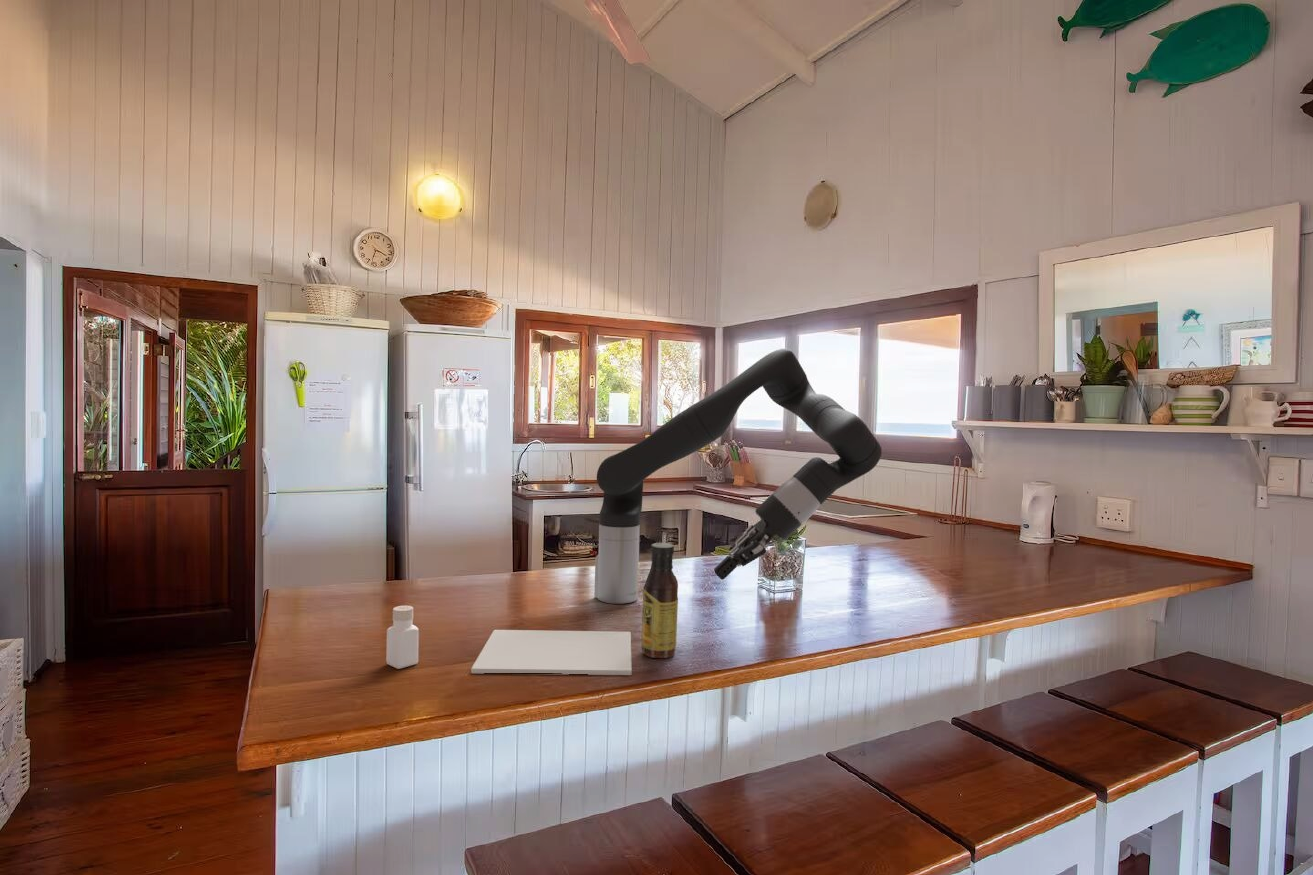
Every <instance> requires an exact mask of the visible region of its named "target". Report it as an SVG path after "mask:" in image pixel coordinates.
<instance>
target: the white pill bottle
mask: <svg viewBox="0 0 1313 875" xmlns="http://www.w3.org/2000/svg"><path fill="white" fill-rule="evenodd" d="M413 620H414V607H413V606H411V605H398V606H395V607H393V608H392V621H393V622H392V626H390V627H388V628H387V629H386V653H385V654H386V656H385V657H386V658H385V659H386V660H385V661H386V663H387V665H389V666H391V667H393V668H395V669H398V670H400V669H404V668H406V667H411V666H414V665H417V664H418V663H419V638H420V632H419V631H420V630H419V628H418V627H417V626H416V625H414V624H413Z"/></svg>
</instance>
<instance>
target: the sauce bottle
mask: <svg viewBox="0 0 1313 875" xmlns="http://www.w3.org/2000/svg"><path fill="white" fill-rule="evenodd" d="M650 546H651V548H650V553H651V564H650V570H649V572H648V574H647V577H646V580H645V582H644V585H643V587H642V588H643V589H642V590H643V592H642V593H643V594H642V618H641V620H642V621H641V650H642V653H643V655H644V656H646V657H648V658H651V659H652V658H653V659H668V658H672V657H674V655H675V653H676V646H677V637H678V636H677V635H678V634H677V631H678V609H679V608H678V606H679V597H678V596H679V595H678V592H679V590H678V589H679V582H678V579H677V576H676V575H675V573H674V572H673V568H674V565H673V557H674V554H675V546H674V544H672V543H669V542H654V543H651V545H650Z"/></svg>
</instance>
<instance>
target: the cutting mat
mask: <svg viewBox="0 0 1313 875" xmlns="http://www.w3.org/2000/svg"><path fill="white" fill-rule="evenodd" d="M631 641H632V633H631V631H615V630H614V631H613V630H612V631H608V630H607V631H605V630H603V631H602V630H600V631H597V630H596V631H595V630H539V629H538V630H537V629H536V630H535V629H525V630H524V629H519V630H518V629H494V630H493V631H492V632H491V634H490V636H489V638H488V639H487V641H486V643H485V645H484V647H483V648H482V649H481V651H480V653H479V655H478V657H477V658H476V660H475V661H474V663H473V665H472V666H471V669H470V671H471V672H470V674H484V673H562V674H561V675H569V674H588V675H589V676H591V675H592V676H632V672H633V671H632V667H633V666H632V642H631ZM588 675H587V676H588Z"/></svg>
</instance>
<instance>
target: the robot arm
mask: <svg viewBox="0 0 1313 875" xmlns="http://www.w3.org/2000/svg"><path fill="white" fill-rule="evenodd" d="M760 388H763V389H764V391H765V393H766V394H767V395H768V397H769V398H770V399H771V400H772V401H773V402H774V403H775V404H776V405H778V406H780V407H781V408H783V409H785V410H788V411H789V412H791V413H792V414H794V415H796V417H798V418H799V419H800V420H802V421H803V423H804V424H806V426H808V428H809V429H810V430H811V431H812V432H813V433H814V434H815V435H816V436H818V438H820V439H821V440H822V441H824V442H826V443H828V445H829V446H830V447H831V448H832V449H833V451H834V452H835V453H836V455H838V457H839V458H838V459H836V460H835V461H833V462H831V463H828V462H827V461H826V460H824V459H823V458H820V457H818V456H817V457H812V458H811V459H809V460H808V461H807V462H806V463H805V464H804V465H803V466H802V467H800V468H799V469H798V471H796V473H794V474H792V476H791V477H789V479H787V480H786V481H785V482H784V483H782V484H781V485H780V486H779V487H778V488H776V490H775V491H773V492H772V493H771V494H770V495H769V496H768V497H767V498H766V499H765V500H764V501H763V502H762V503H761V504H760V505H759V506H757V507H756V509H755V511H754V512H755V514H756V515H757V516H758V517H759V518H760V519H759V521H758V522H756V523H755V524H750V525H749V526H748V527H747V528H744V529H742V530H741V532H740V533H739V535H738V536H737V537H736V539H735V540H734V542H733V543H732V544H731V546H730V547H729V548H728V553H727V556H725V558H723V560H721V562H720V563H719V564H718V565H715V567H714V569H713V572H714V573H715V575H716V576H717V577H718V578H719V579H720V580H725V579H726V578H727V577H728V576H730V574H731V573H732V572H733V571H734V570H735V569H736V568H737V567H744V566H745V567H746V565H748V564H749V563H751V562H753V561H755V560H756V559H758V558H760V557H762V556H763V555H765V554H766V553H767V548H768V547H769V545H771V541H772V540H773V539H774V538H775V536H777V537H778V538H779V539H780V540H781V541H786V540H787V539H789V538H790V537H791V536H792V535H793V534H794V533H795V532H796V531H797V530H798V529H799V528H800V527H801V526H803V524H804V523H806V521H808V520H809V519H810V518H811V516H813V515H814V513H815V512H816V510H818V508H819V507H820V506H821V505H823V503H824V502H826V500H827V499H828V498H830V496H832V495H833V494H834V493H835V492H836V491H838V490H839V489H840V488H842V487H844V486H846V485H848V484H850V483H851V482H853V481H855V480H857V479H859V478H860V477H862V476H864V475H866V474H867V473H869V472H871V471H872V470H873V469H874V468H875V467H876V466H877V464H878V463H879V461H880V460H881V458H882V453H883V452H882V451H883V449H882V447H881V444H880V443H879V441H878V439H876V437H875V435H874V434H873V432H872V431H871V430H870V429H869V427H868V426H867V425H866V423H865V422H864V420H862V419H861V418H860V417H859V416H858V415H857V414H855V413H853V412H851V411H848V410H846V409H845V408H843V407H842V406H841V405H840V404H839V403H838V402H837V401H835V400H834V399H833V398H831V397H830V396H828V395H825V394H822V393H816V391H815V390H814V388H813V387H812V385H811V383H810V382H809V379H808V377H807V374H806V372H805V370H804V369H803V366H802V365H801V364H800V361H799V360H798V358H797V357H796V355H795V353H794V351H792V350H791V349H789V348H780V349H776V350H774V351H771V352H770V353H768V354H766V355H765V356H763V357H761V358H760V359H759V360H757V361H756V362H755V363H754V364H751V366H749V367H748V368H746V369H745V370H744V371H742V372H741V373H740V374H739V375H737V376H736V377H735V378H733V379H732V380H730V381H729V382H728V383H726V384H725V385H723V386H722V387H720V388H719V389H717V390H714V392H712V393H711V394H708V396H705V397H704V398H703V399H700V400H699V401H697V402H696V403H694V404H692V405H691V406H688V407H687V408H686V409H685V410H683V411H681V412H679V413H678V414H676V415H675V416H674V417H672V418H671V419H669V420H668V421H666V422H665V423H663V425H661V426H660V427H659V428H657V429H655V431H653V432H652V433H651V434H650V435H648V436H647V437H646V438H644V439H642V440H641V441H639V442H637V443H635V444H634V445H633V444H632V446H630V447H627V448H626V449H624V450H621V451H620V452H617V453H615V454H613V455H610V456H608V457H606V458H605V459H604V460H602V462H601V463H600V465H599V467H598V469H597V472H596V483H597V485H598V487H599V488H600V490H601V491H602V492H603V497H602V498H603V500H602V505H601V507H600V508H601V509H600V512H599V516H598V521H599V522H598V524H599V525H598V554H597V555H596V556H595V558H594V559H595V561H594V563H595V564H594V596H593V597H594V598H597V600H598V601H600V602H603V603H607V604H617V605H618V604H619V605H621V604H629V603H634V602H636V601H637V600H638V597H639V596H638V590H639V589H638V588H639V587H638V586H639V565H640V564H639V562H640V561H639V560H640V559H639V558H640V556H639V555H640V522H641V513H642V509H643V494H644V492H643V491H644V480H645V479H646V478H648V477H650V476H651V475H652V474H653V473H655V472H657V471H658V470H661V469H662V468H664V467H666V466H667V465H670V464H672V463H675V462H677V461H679V460H682V459H684V458H686V457H688V456H690V455H693V454H694V453H696V452H697V451H700V450H701V449H704V448H705V447H706V446H708V445H710V444H712V443H714V442H715V441H716V440H718V439H719V438H721V437H722V436H723V435H724V434H725V433H726V431H727V429H728V428H729V427H730V424H731V423H732V421H733V420H734V418H735V416H736V413H737V411H738V410H739V409H740V406H741V405H742V404H743V402H744V401H745V400H746V399H748V397H750V396H751V395H752V394H753V393H754V392H755V391H757V390H758V389H760Z"/></svg>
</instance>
